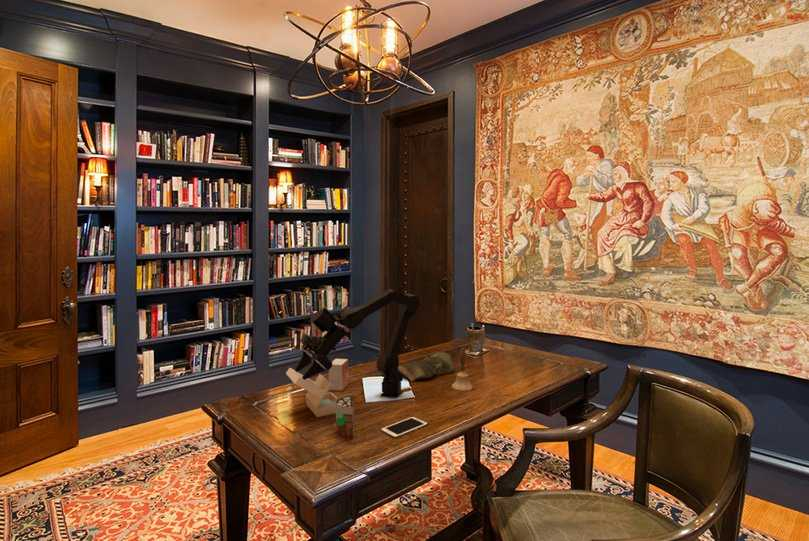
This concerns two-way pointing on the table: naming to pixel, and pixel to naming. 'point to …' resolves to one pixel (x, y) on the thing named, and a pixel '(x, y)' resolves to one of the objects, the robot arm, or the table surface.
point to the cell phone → (403, 427)
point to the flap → (311, 386)
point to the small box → (339, 374)
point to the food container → (345, 415)
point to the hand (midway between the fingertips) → (299, 375)
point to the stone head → (427, 367)
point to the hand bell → (462, 375)
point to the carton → (323, 405)
